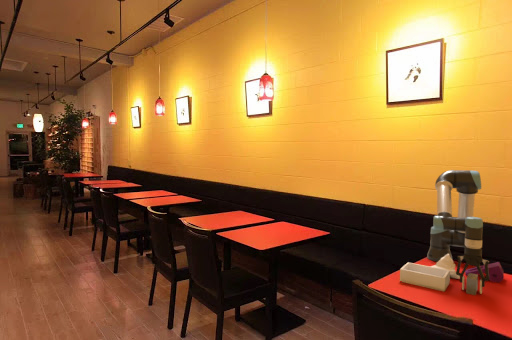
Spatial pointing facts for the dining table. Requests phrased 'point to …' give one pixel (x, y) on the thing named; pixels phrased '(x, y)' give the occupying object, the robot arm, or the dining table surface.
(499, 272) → the mounting bracket
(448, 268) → the cream faceted chunk
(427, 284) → the cream rectangular tray
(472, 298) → the dining table surface
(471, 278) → the brushed metal block
